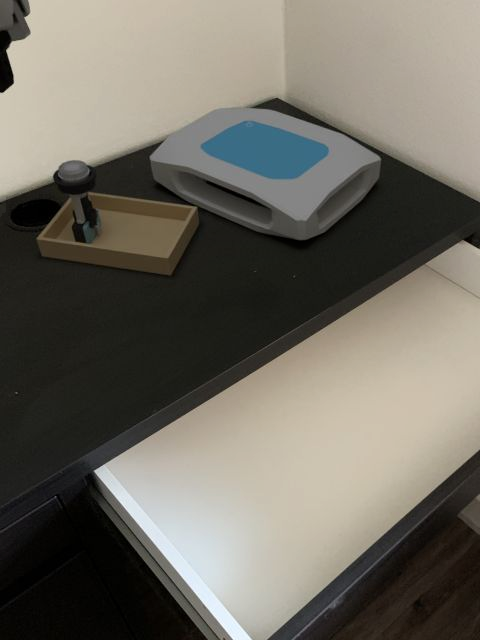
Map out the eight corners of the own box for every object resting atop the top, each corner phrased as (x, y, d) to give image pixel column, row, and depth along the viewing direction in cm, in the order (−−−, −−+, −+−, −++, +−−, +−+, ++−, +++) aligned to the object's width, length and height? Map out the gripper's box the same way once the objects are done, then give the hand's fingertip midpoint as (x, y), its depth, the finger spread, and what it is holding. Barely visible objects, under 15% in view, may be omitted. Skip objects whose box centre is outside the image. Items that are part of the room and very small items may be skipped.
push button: (81, 216, 94) (63, 150, 87) (117, 219, 94) (102, 153, 86) (64, 243, 90) (44, 176, 82) (102, 247, 89) (86, 179, 82)
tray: (41, 256, 89) (35, 238, 87) (80, 207, 97) (75, 190, 95) (170, 275, 87) (168, 258, 85) (199, 223, 95) (197, 206, 92)
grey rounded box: (302, 252, 90) (303, 212, 86) (151, 187, 101) (144, 148, 96) (380, 185, 102) (384, 147, 97) (237, 133, 112) (235, 96, 108)
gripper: (31, -106, 66) (74, 81, 80) (-103, -117, 68) (-39, 68, 82) (-7, -87, 61) (45, 109, 75) (-151, -100, 63) (-74, 94, 77)
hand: (1, 87), depth 78 cm, fingers closed
